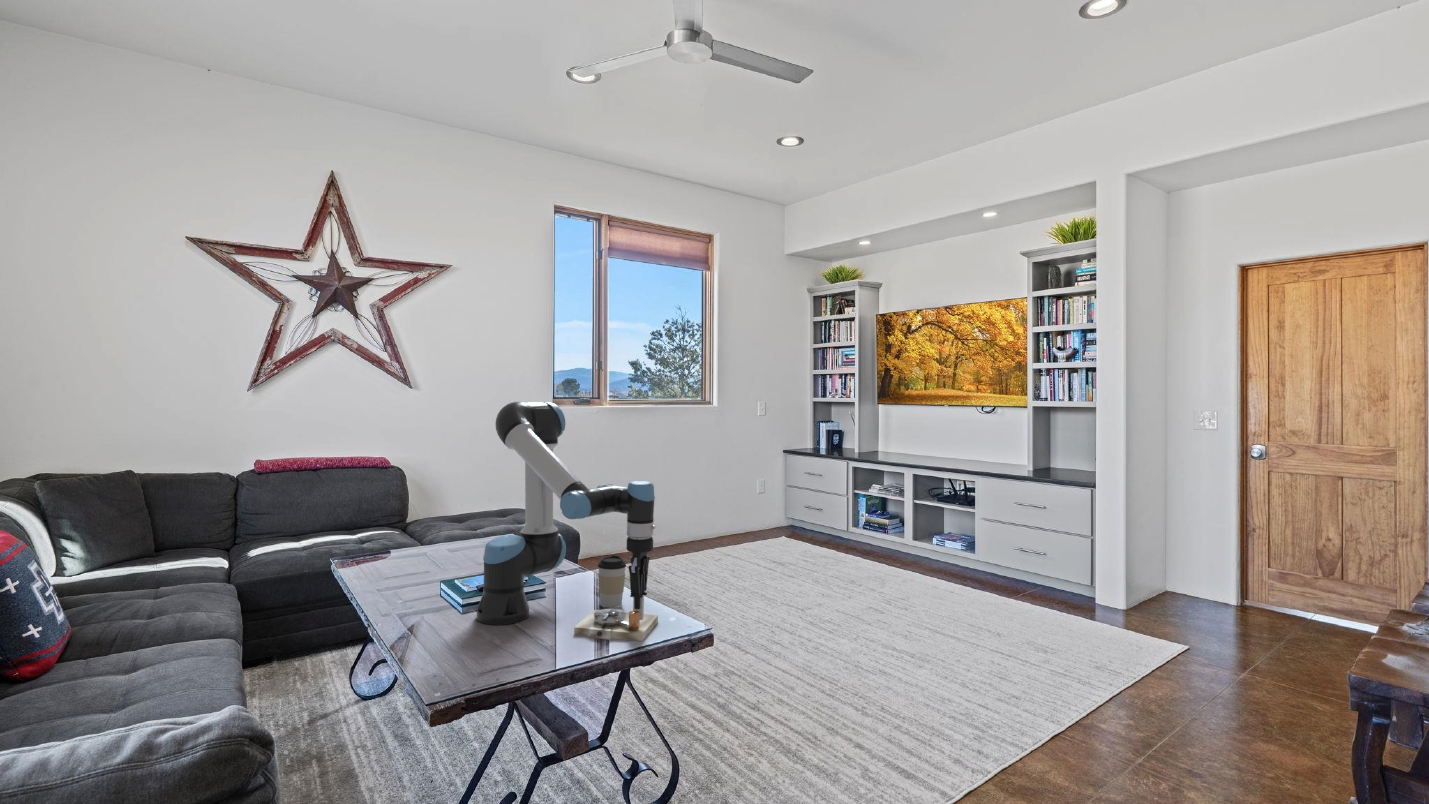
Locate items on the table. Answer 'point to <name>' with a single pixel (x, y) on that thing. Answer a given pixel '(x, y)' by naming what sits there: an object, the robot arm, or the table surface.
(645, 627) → the stand
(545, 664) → the table surface
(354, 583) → the table surface
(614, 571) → the coffee cup
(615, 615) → the cam capstan
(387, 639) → the table surface
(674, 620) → the table surface
